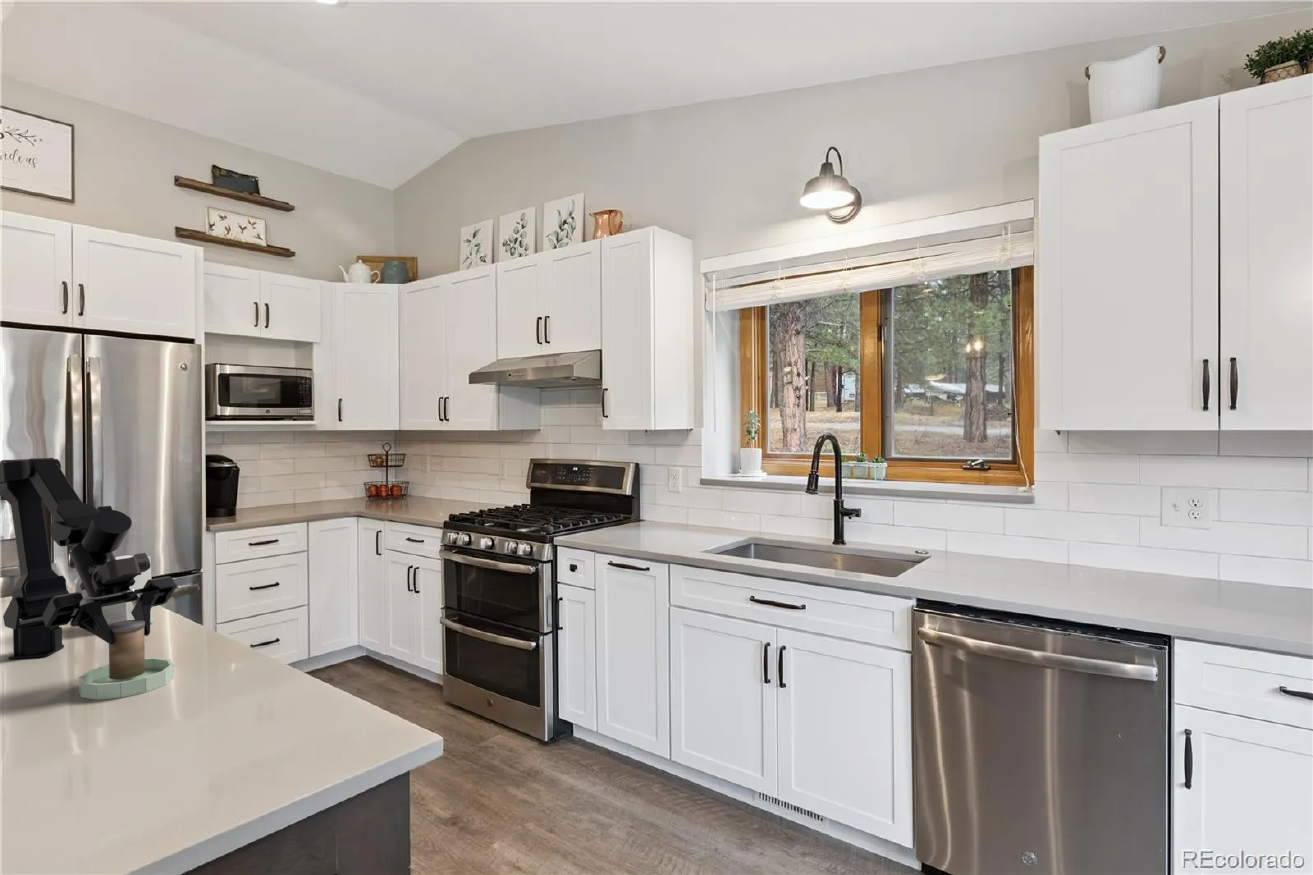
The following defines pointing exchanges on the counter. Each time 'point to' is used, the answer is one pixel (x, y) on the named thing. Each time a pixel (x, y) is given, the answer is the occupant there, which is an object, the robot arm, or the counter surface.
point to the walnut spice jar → (127, 650)
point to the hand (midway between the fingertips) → (130, 638)
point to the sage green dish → (125, 681)
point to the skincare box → (125, 609)
